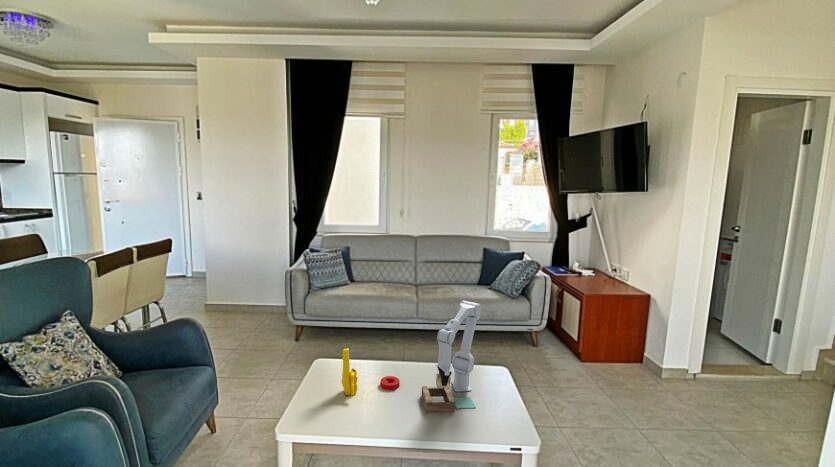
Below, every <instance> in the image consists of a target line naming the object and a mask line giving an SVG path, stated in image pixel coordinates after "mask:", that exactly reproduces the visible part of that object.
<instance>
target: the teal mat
mask: <svg viewBox="0 0 835 467" xmlns="http://www.w3.org/2000/svg"><path fill="white" fill-rule="evenodd" d="M453 398H454V400H455V409H456V410H460V409H459V408H470V409H477V407H476V405H475V403H474V402H473V399H472V397H453Z"/></svg>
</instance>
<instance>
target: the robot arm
mask: <svg viewBox="0 0 835 467" xmlns="http://www.w3.org/2000/svg"><path fill="white" fill-rule="evenodd" d="M481 314H482V305H481V304H480V303H477V302H472V301H468V300H464V299H463V300H461V302H460V303H459V308H458V311H457V313H456V315H455V316H454V318H451V319H450V320H449V321H448V322H447V324H446V325H445V327H444V328H442V329H439V330H438V332H437V336H436V341H437V344H438V359H437V360H438V362H437V363H435V367H437V370H438V374H440V375H441V383H442V386H447V383H448V379H449V377H451V376H452V371H450V370H451V367H452V368H453V381H451V384H453V385H452V387H453V389H454V391H455V392H471V391H472V389H471V386H469V385H470V374H471V373H472V371H473V370H474V365H475V358H474V356H473V355H472V353H471V348H472V343H473V339H474V334H475V329H476V324H477V321H479V320H480V318H481ZM464 320H466V322H465V326H464V331H463V336H462V341H461V345H460V350H458V351H457V352H455V353H454V356H453V358H452V344H453V343H454V340H455V338H456V334H457V332H458V331H459V330H460V329H461V323H462V322H463V321H464ZM451 360H452V361H451ZM469 389H470V390H469Z"/></svg>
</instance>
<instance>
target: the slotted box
mask: <svg viewBox="0 0 835 467" xmlns="http://www.w3.org/2000/svg"><path fill="white" fill-rule="evenodd" d="M454 398H455V397H454V395H453V393H452V391H451V387H450V388H437V386H435V387H428V386H427V385H424V386H423V385H422V386H421V400H422V403H423V406H424V409H425V414H436V413H437V414H438V412H443V413H455V412H456V406H455V400H454Z"/></svg>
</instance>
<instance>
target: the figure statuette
mask: <svg viewBox="0 0 835 467" xmlns="http://www.w3.org/2000/svg"><path fill="white" fill-rule="evenodd" d="M350 365H351V364H350V349H349V348H343V350H342V374H341V375H342V376H341V384H342V387H343V390H344V396H351V397H352V396H356V395H357V392H358V378H359V376H358V373H357V370H356V369H355V368H351V369H350Z"/></svg>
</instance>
